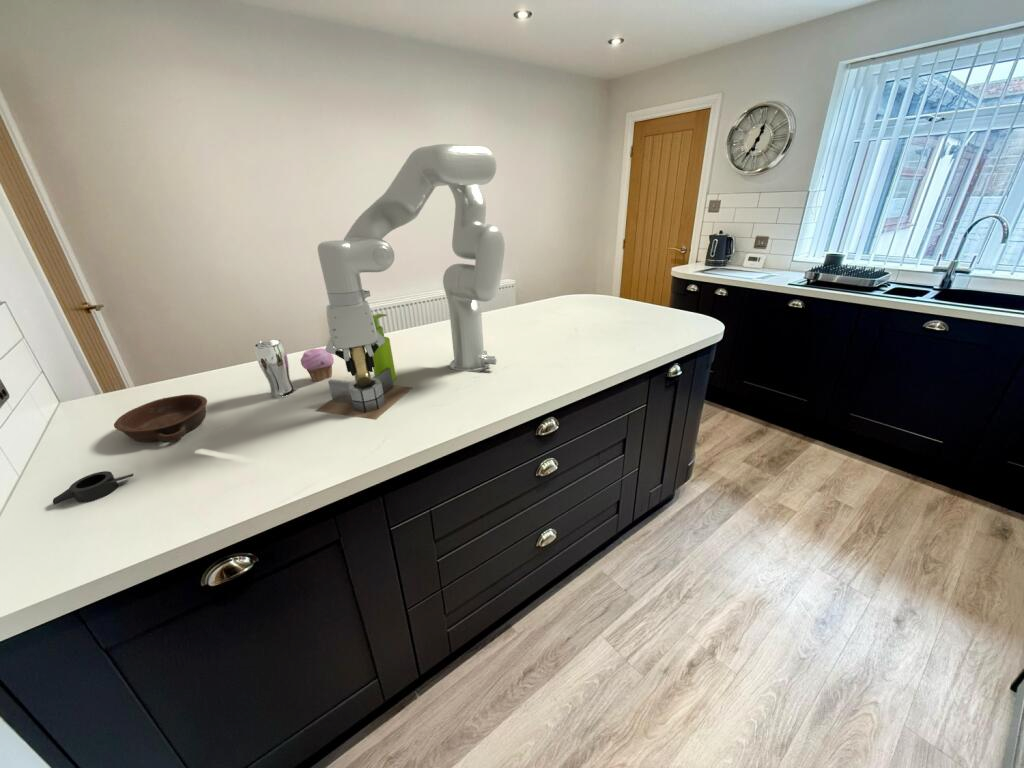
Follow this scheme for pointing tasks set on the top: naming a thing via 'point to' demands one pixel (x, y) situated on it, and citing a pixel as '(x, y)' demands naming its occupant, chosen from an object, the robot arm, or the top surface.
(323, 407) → the hinge base
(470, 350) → the robot arm
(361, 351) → the hinge pin
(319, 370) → the cupcake
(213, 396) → the top surface
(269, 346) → the beer glass
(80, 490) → the black ring with arms
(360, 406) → the hinge
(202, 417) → the dish
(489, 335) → the top surface
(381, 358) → the soap dispenser
